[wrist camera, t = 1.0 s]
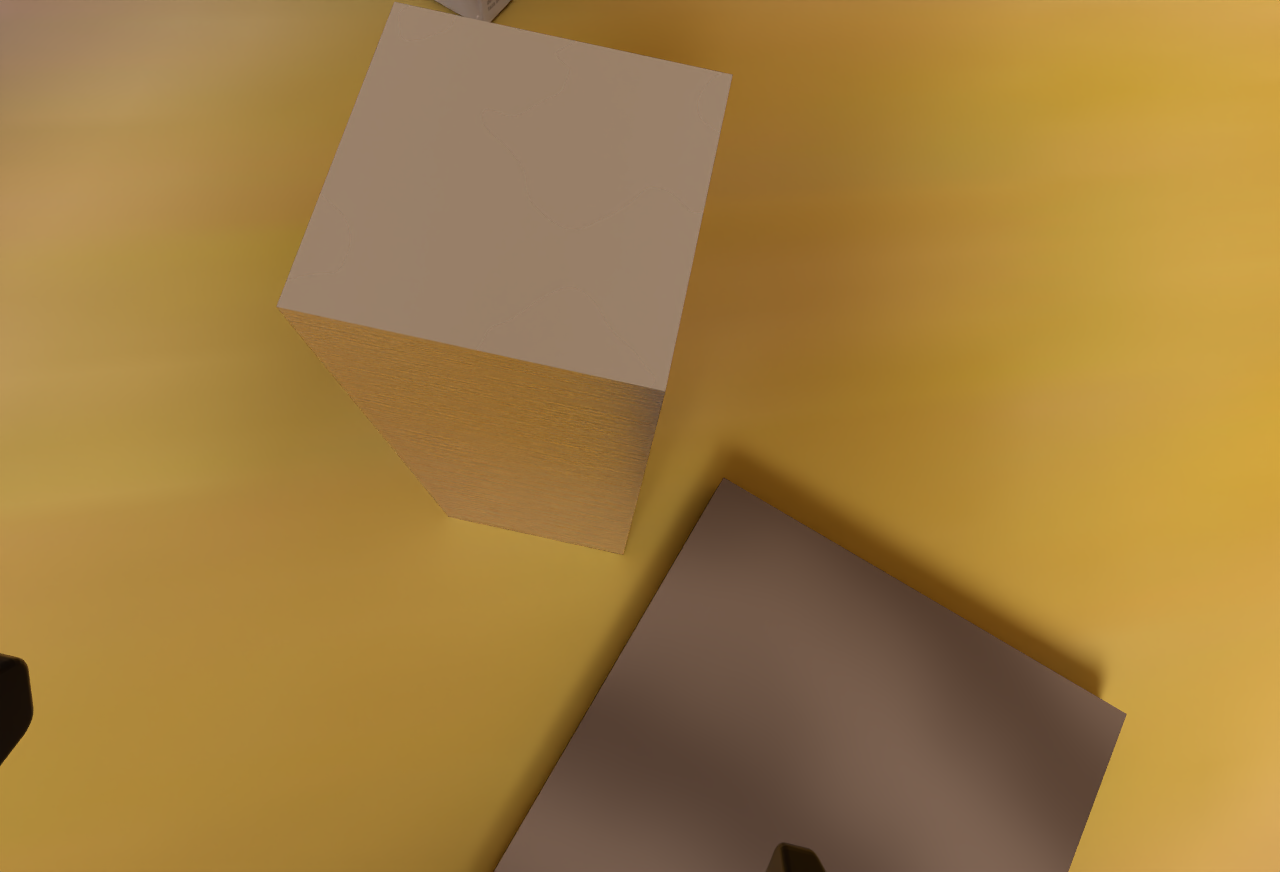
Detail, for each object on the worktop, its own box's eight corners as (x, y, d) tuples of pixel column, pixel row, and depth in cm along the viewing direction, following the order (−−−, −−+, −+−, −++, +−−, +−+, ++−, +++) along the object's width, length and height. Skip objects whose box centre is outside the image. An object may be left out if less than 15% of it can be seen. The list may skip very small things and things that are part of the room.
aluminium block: (622, 554, 22) (665, 391, 10) (448, 516, 22) (276, 306, 10) (658, 391, 24) (732, 75, 12) (494, 355, 24) (394, 1, 12)
